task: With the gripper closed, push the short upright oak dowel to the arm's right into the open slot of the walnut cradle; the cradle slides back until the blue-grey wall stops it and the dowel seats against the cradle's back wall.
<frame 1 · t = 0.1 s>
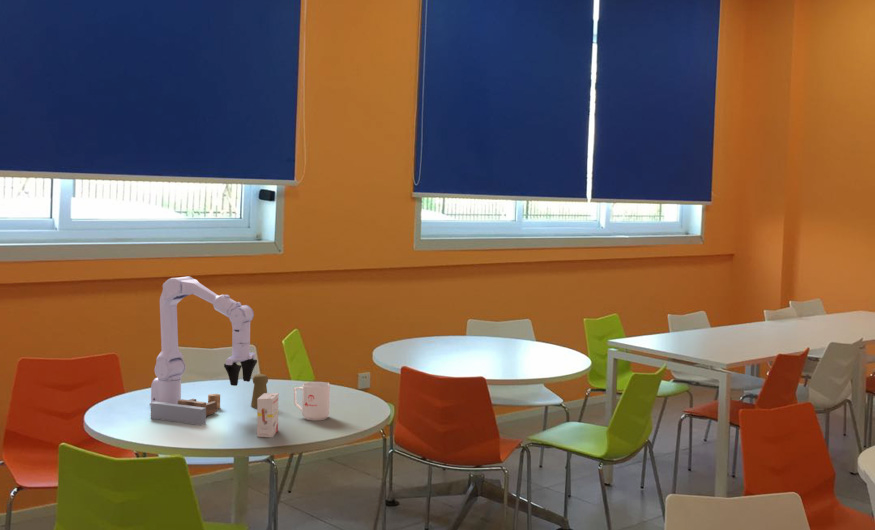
hand: (240, 383, 297), 10 cm above the table, fingers open, 7 cm apart
oak dowel: (214, 408, 303), on the table
walnut cradle: (197, 406, 294), point 3 cm above the table, slide at 0.0 cm
mug: (311, 418, 295), on the table
ink box: (267, 434, 273), on the table
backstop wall: (178, 420, 285), on the table
cork: (259, 406, 308), on the table
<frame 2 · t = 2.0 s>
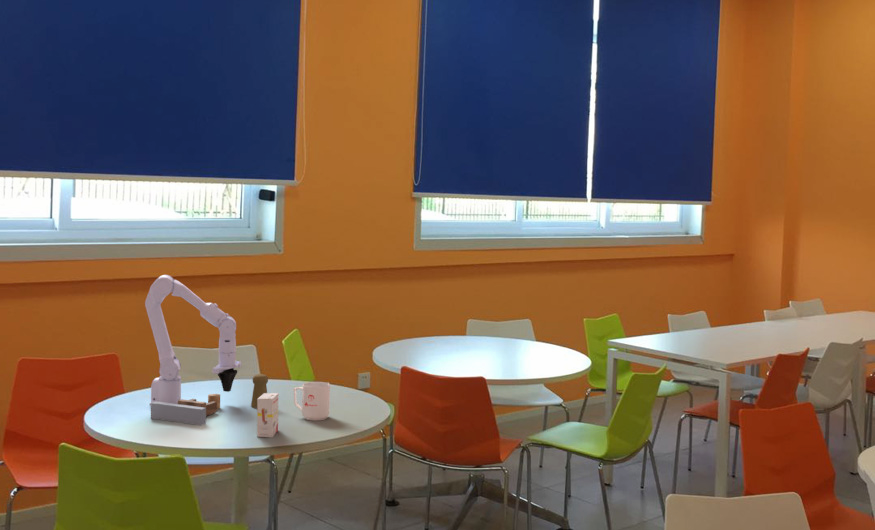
hand: (227, 391, 310), 4 cm above the table, fingers closed
nothing on the table moved.
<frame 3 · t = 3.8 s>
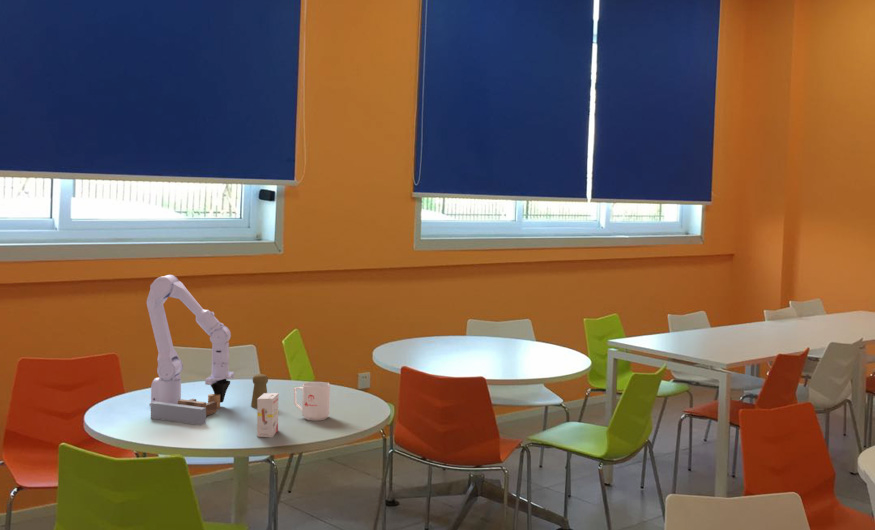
hand: (219, 402, 307), 1 cm above the table, fingers closed
oak dowel: (214, 408, 303), on the table, touching gripper
everything else where it was.
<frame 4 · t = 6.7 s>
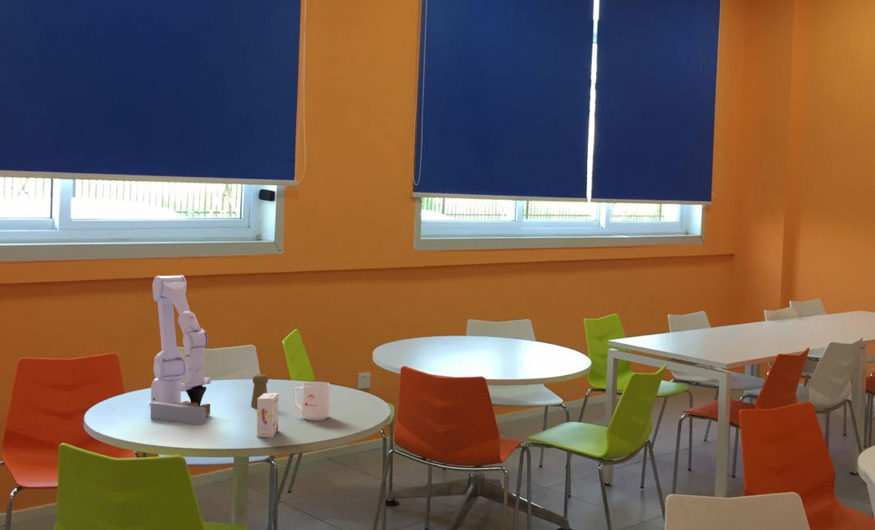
hand: (195, 409, 293), 2 cm above the table, fingers closed, pressing on oak dowel
oak dowel: (193, 416, 292), on the table, tilted 15°, touching gripper, walnut cradle
walnut cradle: (190, 408, 291), point 3 cm above the table, slide at 3.7 cm, touching oak dowel
everything else where it was.
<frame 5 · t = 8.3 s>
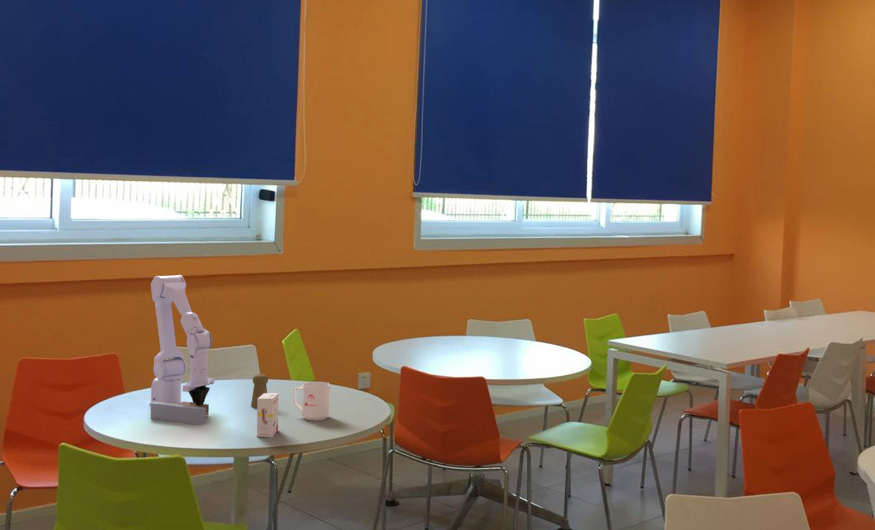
hand: (198, 409, 295), 1 cm above the table, fingers closed
oak dowel: (188, 417, 290), on the table
walnut cradle: (188, 409, 290), point 3 cm above the table, slide at 4.6 cm
everything else where it was.
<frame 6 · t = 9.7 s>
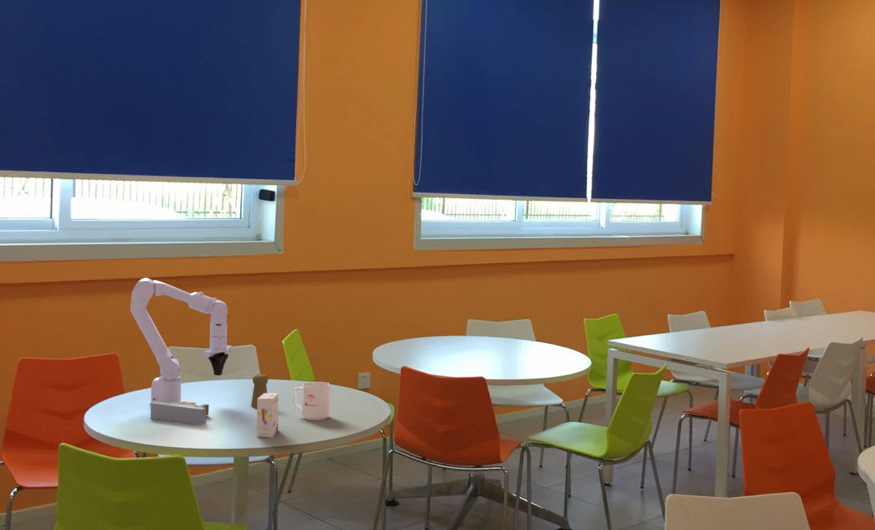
hand: (217, 375, 310), 10 cm above the table, fingers closed
nothing on the table moved.
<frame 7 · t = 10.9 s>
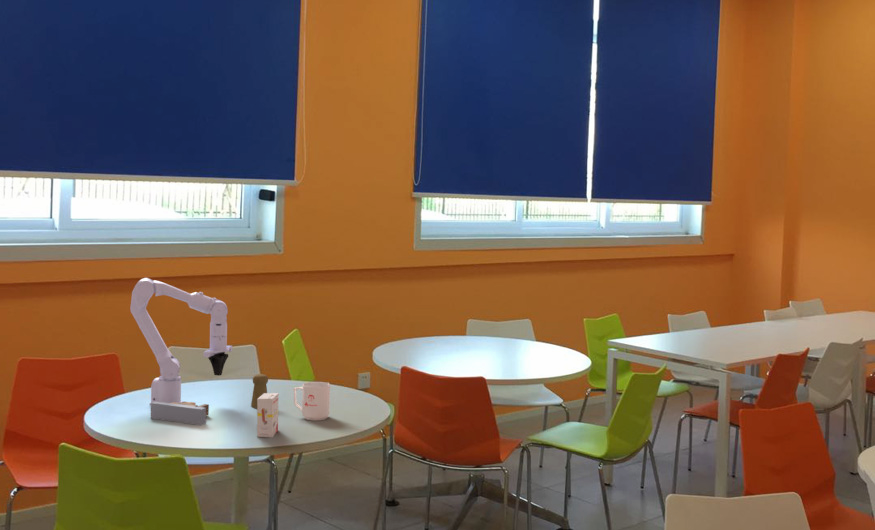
hand: (217, 375, 310), 10 cm above the table, fingers closed
nothing on the table moved.
at the end: walnut cradle slide at 4.6 cm; oak dowel 0.8 cm off-centre on the walnut cradle, point 0.0 cm above the walnut cradle's base; oak dowel tilted 0° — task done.
